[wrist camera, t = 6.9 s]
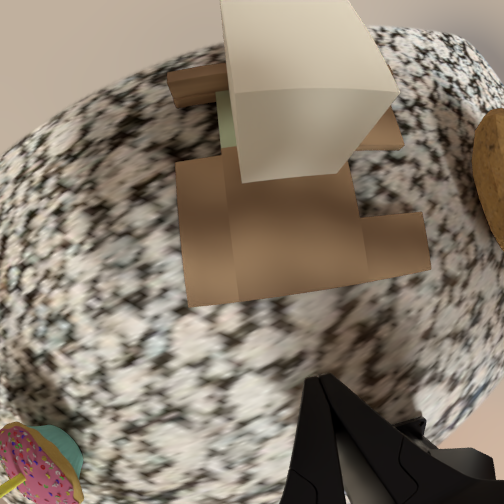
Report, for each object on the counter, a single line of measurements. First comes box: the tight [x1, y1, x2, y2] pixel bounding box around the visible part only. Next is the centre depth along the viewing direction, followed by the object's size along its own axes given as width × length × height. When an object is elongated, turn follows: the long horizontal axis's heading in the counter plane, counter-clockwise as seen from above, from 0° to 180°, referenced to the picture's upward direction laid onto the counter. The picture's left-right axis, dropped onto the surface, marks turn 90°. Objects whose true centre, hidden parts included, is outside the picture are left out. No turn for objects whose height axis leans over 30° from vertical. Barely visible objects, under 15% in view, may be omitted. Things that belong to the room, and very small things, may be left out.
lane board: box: [167, 63, 431, 308], centre depth 17 cm, size 15×16×3 cm
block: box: [220, 0, 400, 183], centre depth 13 cm, size 7×6×9 cm
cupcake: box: [0, 422, 84, 504], centre depth 10 cm, size 9×8×12 cm
